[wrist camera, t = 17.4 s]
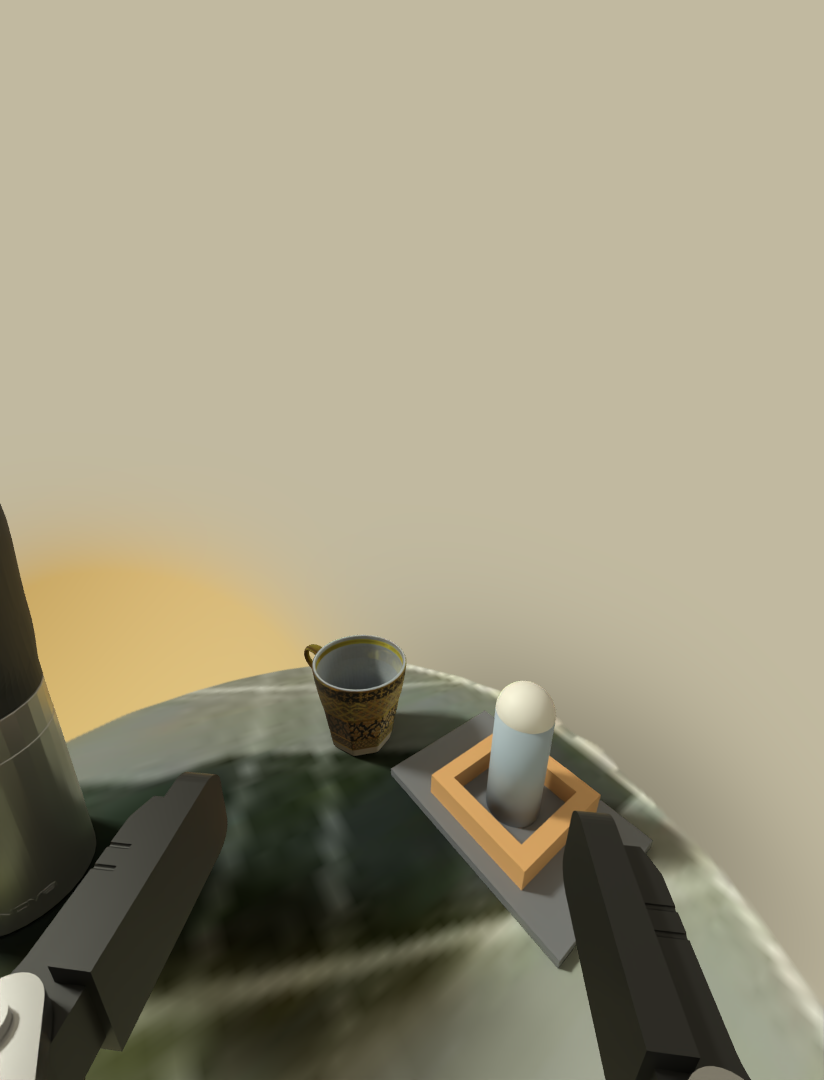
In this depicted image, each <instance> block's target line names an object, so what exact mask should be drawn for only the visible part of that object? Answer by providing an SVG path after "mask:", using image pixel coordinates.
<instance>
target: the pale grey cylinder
mask: <svg viewBox="0 0 824 1080" xmlns="http://www.w3.org/2000/svg"><path fill="white" fill-rule="evenodd" d="M555 720H556V710H555V705H554V703H553V700H552V698H551V697H550V695H549V694H548V693H547V692H546V691H545V690H544V689H543V688H542V687H541V686H539V685H537V684H535V683H533V682H529V681H517V682H514V683H511V684H509V685H508V686H507V687H505V688H504V689H503V690H502V692H501V693H500V695H499V697H498V699H497V703H496V710H495V719H494V728H493V737H492V746H491V755H490V764H489V773H488V782H487V791H486V804H487V807H488V809H489V811H490V813H491V814H492V815H493V816H494V817H495V818H496V819H497V820H498V821H499V822H501V823H503V824H504V825H507V826H510V827H514V828H523V827H527V826H529V825H531V824H533V823H534V822H535V821H536V819H537V817H538V815H539V811H540V805H541V799H542V794H543V788H544V782H545V777H546V771H547V765H548V760H549V754H550V748H551V743H552V737H553V731H554V726H555Z"/></svg>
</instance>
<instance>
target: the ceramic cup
mask: <svg viewBox="0 0 824 1080" xmlns="http://www.w3.org/2000/svg"><path fill="white" fill-rule="evenodd" d="M309 651H311V652H313V653H314V654H315V657H314V659H313V661H312V659H311V658H310V656H309ZM304 656H305V659H306V661H307V663H308V664H309V666H310V667H311V668H312V671H313V675H314V680H315V684H316V687H317V691H318V694H319V697H320V700H321V703H322V705H323V707H324V710H325V714H326V718H327V722H328V725H329V729H330V732H331V736H332V740H333V743H334V745H335V746H336V747H338V748H340V749H341V750H343V751H345V752H347V753H349V754H351V755H353V756H358V755H363V754H369V753H374V752H378V751H379V750H380V749H381V747H382V746H383V745H384V744H385V743H386V742H387V740H388V739H389V738H390V735H391V732H392V728H393V722H394V718H395V714H396V710H397V705H398V699H399V696H400V693H401V690H402V685H403V681H404V676H405V669H406V657H405V654H404V652H403V651H402V649H401V648H400V647H399V646H398V645H396V644H395V643H393V642H392V641H390V640H387V639H385V638H381V637H377V636H371V635H354V636H348V637H344V638H340V639H337V640H335V641H332V642H330V643H328V644H327V645H325V646H324V647H323V648H322V647H321V646H318V645H314V644H312V645H309V646H307V647H306V649H305V651H304Z"/></svg>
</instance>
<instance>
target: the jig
mask: <svg viewBox="0 0 824 1080" xmlns="http://www.w3.org/2000/svg"><path fill="white" fill-rule="evenodd" d="M494 719H495V718H494V717H493V716H491V715H490V714H489V713H488V712H486V711H483V712H481V713H480V714H478V715H477V716H475V717H473V718H472V719H470V720H469V721H467V722H465V723H464V724H462V725H460V726H459V727H457V728H456V729H454V730H452V731H451V732H449V733H448V734H446V735H444V736H443V737H441V738H440V739H438V740H436V741H435V742H433V743H432V744H430V745H428V746H427V747H425V748H423V749H422V750H420V751H419V752H417V753H415V754H414V755H412V756H411V757H409V758H407V759H406V760H404V761H403V762H401V763H399V764H398V765H396V766H395V767H393V768H391V775H392V776H393V777H394V779H395V780H396V781H397V782H398V783H399V784H400V785H401V787H402V788H403V789H404V790H405V791H406V792H407V794H408V795H409V796H410V797H411V798H412V799H413V801H414V802H415V803H416V804H417V805H418V806H419V808H420V809H421V810H422V811H423V812H424V813H425V815H426V816H427V817H428V818H429V819H430V820H431V821H432V823H433V824H434V825H435V826H436V827H437V828H438V830H439V831H440V832H441V833H442V834H443V835H444V837H445V838H446V839H447V840H448V841H449V842H450V844H451V845H452V846H453V847H454V848H455V849H456V850H457V852H458V853H459V854H460V855H461V856H462V857H463V859H464V860H465V861H466V862H467V863H468V864H469V866H470V867H471V868H472V869H473V870H474V871H475V873H476V874H477V875H478V876H479V877H480V878H481V880H482V881H483V882H484V883H485V884H486V885H487V886H488V888H489V889H490V890H491V891H492V892H493V893H494V895H495V896H496V897H497V898H498V899H499V900H500V902H501V903H502V904H503V905H504V906H505V907H506V909H507V910H508V911H509V912H510V913H511V914H512V916H513V917H514V918H515V919H516V920H517V921H518V922H519V924H520V925H521V926H522V927H523V928H524V929H525V931H526V932H527V933H528V934H529V935H530V936H531V938H532V939H533V940H534V941H535V942H536V943H537V945H538V946H539V947H540V948H541V949H542V950H543V952H544V953H545V954H546V955H547V956H548V957H549V958H550V960H551V961H552V962H553V963H554V964H555V965H556V967H557V968H559V966H560V965H561V964H562V962H563V961H564V960H565V958H566V957H567V956H568V955H569V953H570V952H571V951H572V949H573V948H574V947H575V945H576V940H575V935H574V931H573V926H572V921H571V917H570V912H569V908H568V903H567V898H566V894H565V888H564V881H563V854H564V850H565V845H566V840H567V835H568V830H569V825H570V820H571V816H572V813H573V811H585V812H596V813H606V814H610V815H611V816H612V817H613V819H614V821H615V823H616V826H617V828H618V831H619V834H620V837H621V839H622V842H623V845H628V846H638V847H641V848H642V850H643V851H644V852H645V853H646V852H647V851H648V850H649V848H650V847H651V845H652V841H653V840H652V839H650V838H649V837H648V836H647V835H645V834H644V833H643V832H641V831H640V830H639V829H638V828H636V827H635V826H634V825H632V824H631V823H630V822H628V821H627V820H626V819H625V818H623V817H622V816H621V815H619V814H618V813H617V812H616V811H614V810H613V809H612V808H610V807H609V806H608V805H606V804H605V803H604V802H603V801H601V800H600V794H599V793H597V792H596V791H595V790H594V789H592V788H591V787H590V786H588V785H587V784H586V783H584V782H583V781H582V780H580V779H579V778H578V777H577V776H575V775H574V774H573V773H571V772H570V771H569V770H567V769H566V768H565V767H563V766H562V765H561V764H560V763H558V762H557V761H556V760H554V759H553V758H552V757H550V756H549V760H548V765H547V771H546V777H545V782H544V788H543V794H542V799H541V805H540V811H539V815H538V817H537V819H536V821H535V822H534V823H533V824H531V825H529V826H527V827H523V828H514V827H510V826H507V825H504V824H503V823H501V822H499V821H498V820H497V819H496V818H495V817H494V816H493V815H492V814H491V813H490V811H489V809H488V807H487V804H486V791H487V782H488V773H489V764H490V755H491V746H492V737H493V728H494Z"/></svg>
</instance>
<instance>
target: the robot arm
mask: <svg viewBox="0 0 824 1080" xmlns="http://www.w3.org/2000/svg"><path fill="white" fill-rule="evenodd" d="M226 832H227V815H226V809H225V803H224V798H223V792H222V786H221V781H220V778H219V776H218V775H215V774H205V773H194V772H184V773H182V774H181V775H180V776H179V777H178V778H177V779H176V781H175V782H174V784H173V785H172V786H171V788H170V789H169V791H168V792H167V794H166V795H165V797H160V796H153V797H152V798H151V799H150V800H149V801H147V802H146V803H145V804H144V805H143V806H141V807H140V808H139V809H138V810H137V811H135V812H134V813H133V814H132V815H131V816H130V817H129V818H128V819H127V821H126V822H125V823H124V825H123V826H122V827H121V829H120V830H119V831H118V833H117V834H116V835H115V837H114V838H113V840H112V841H111V844H110V846H109V847H107V848H106V849H105V850H104V852H103V853H102V854H101V856H100V857H99V858H98V860H97V861H96V863H95V866H94V868H93V869H90V871H89V872H88V873H87V875H86V876H85V877H84V879H83V880H82V881H81V883H80V884H79V886H78V887H77V888H76V890H75V891H74V892H73V894H72V895H71V896H70V898H69V899H68V900H67V902H66V903H65V904H64V906H63V907H62V909H61V910H60V911H59V913H58V914H57V915H56V917H55V918H54V919H53V921H52V922H51V923H50V925H49V926H48V927H47V929H46V930H45V932H44V933H43V934H42V936H41V937H40V938H39V940H38V941H37V942H36V944H35V945H34V946H33V948H32V949H31V950H30V952H29V953H28V954H27V956H26V957H25V958H24V959H23V961H22V962H21V963H20V964H19V965H18V966H17V967H16V968H15V970H14V971H13V972H12V973H11V974H10V975H7V976H5V977H2V978H0V1080H85V1076H86V1074H87V1072H88V1071H89V1069H90V1067H91V1065H92V1063H93V1061H94V1059H95V1057H96V1055H97V1053H98V1052H99V1050H100V1048H102V1049H108V1050H115V1051H123V1049H124V1046H125V1044H126V1042H127V1040H128V1038H129V1036H130V1034H131V1032H132V1030H133V1028H134V1026H135V1024H136V1022H137V1020H138V1018H139V1016H140V1014H141V1012H142V1010H143V1008H144V1006H145V1004H146V1002H147V1000H148V998H149V996H150V994H151V992H152V990H153V988H154V986H155V984H156V982H157V980H158V977H159V975H160V973H161V971H162V969H163V967H164V965H165V963H166V961H167V959H168V957H169V955H170V953H171V951H172V949H173V947H174V945H175V943H176V941H177V939H178V937H179V935H180V933H181V931H182V929H183V927H184V925H185V923H186V921H187V919H188V917H189V915H190V913H191V910H192V908H193V906H194V904H195V902H196V900H197V898H198V896H199V894H200V892H201V890H202V888H203V886H204V884H205V882H206V880H207V878H208V876H209V874H210V872H211V870H212V868H213V866H214V864H215V862H216V860H217V858H218V856H219V854H220V851H221V849H222V847H223V844H224V841H225V837H226ZM95 848H96V836H95V832H94V829H93V825H92V822H91V819H90V816H89V813H88V810H87V807H86V804H85V800H84V797H83V794H82V791H81V788H80V785H79V782H78V779H77V776H76V773H75V770H74V767H73V764H72V761H71V757H70V754H69V751H68V748H67V745H66V742H65V739H64V736H63V733H62V730H61V727H60V724H59V721H58V718H57V715H56V712H55V709H54V706H53V703H52V701H51V697H50V694H49V691H48V688H47V685H46V682H45V679H44V676H43V672H42V669H41V665H40V662H39V659H38V654H37V648H36V640H35V634H34V628H33V623H32V618H31V615H30V611H29V608H28V604H27V601H26V597H25V594H24V590H23V586H22V582H21V578H20V573H19V569H18V565H17V560H16V556H15V551H14V547H13V542H12V538H11V534H10V531H9V527H8V523H7V520H6V517H5V515H4V512H3V510H2V507H1V504H0V936H3V935H6V934H9V933H11V932H13V931H16V930H18V929H20V928H22V927H24V926H26V925H28V924H29V923H31V922H33V921H34V920H36V919H37V918H39V917H41V916H42V915H44V914H45V913H46V912H48V911H49V910H50V909H51V908H53V907H54V906H55V905H56V904H58V903H59V902H60V901H61V900H62V899H63V898H64V897H65V896H66V895H67V894H68V893H69V892H70V891H71V890H72V889H73V888H74V887H75V885H76V884H77V883H78V882H79V881H80V879H81V878H82V877H83V875H84V874H85V872H86V870H87V869H88V867H89V865H90V863H91V861H92V858H93V856H94V853H95ZM563 881H564V888H565V894H566V898H567V903H568V908H569V912H570V917H571V921H572V926H573V931H574V935H575V940H576V945H577V949H578V954H579V959H580V963H581V968H582V972H583V977H584V982H585V986H586V991H587V996H588V1000H589V1005H590V1010H591V1014H592V1019H593V1024H594V1028H595V1033H596V1037H597V1042H598V1047H599V1051H600V1056H601V1061H602V1065H603V1070H604V1075H605V1079H606V1080H751V1079H750V1078H749V1076H748V1074H747V1072H746V1071H745V1069H744V1067H743V1065H742V1064H741V1062H740V1059H739V1057H738V1055H737V1053H736V1051H735V1048H734V1046H733V1044H732V1041H731V1039H730V1037H729V1034H728V1032H727V1029H726V1027H725V1025H724V1022H723V1020H722V1017H721V1015H720V1013H719V1010H718V1008H717V1005H716V1003H715V1001H714V998H713V996H712V993H711V991H710V989H709V986H708V984H707V981H706V979H705V977H704V974H703V972H702V969H701V967H700V965H699V962H698V960H697V958H696V955H695V953H694V950H693V948H692V946H691V943H690V941H689V940H688V939H687V937H686V931H685V929H684V926H683V924H682V922H681V919H680V917H679V914H678V913H677V912H676V911H675V905H674V902H673V900H672V898H671V895H670V893H669V890H668V888H667V886H666V883H665V881H664V878H663V876H662V874H661V873H660V871H659V870H658V869H657V868H656V866H655V865H654V864H653V862H652V861H651V860H650V859H649V857H648V856H647V855H646V853H645V852H644V851H643V850H642V848H641V847H638V846H628V845H623V842H622V839H621V837H620V834H619V831H618V828H617V826H616V823H615V821H614V819H613V817H612V816H611V815H610V814H606V813H596V812H585V811H573V813H572V816H571V820H570V825H569V830H568V835H567V840H566V845H565V850H564V854H563Z"/></svg>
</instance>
